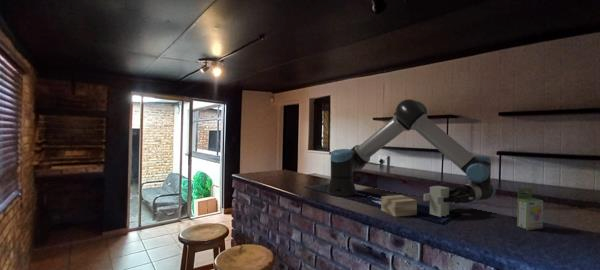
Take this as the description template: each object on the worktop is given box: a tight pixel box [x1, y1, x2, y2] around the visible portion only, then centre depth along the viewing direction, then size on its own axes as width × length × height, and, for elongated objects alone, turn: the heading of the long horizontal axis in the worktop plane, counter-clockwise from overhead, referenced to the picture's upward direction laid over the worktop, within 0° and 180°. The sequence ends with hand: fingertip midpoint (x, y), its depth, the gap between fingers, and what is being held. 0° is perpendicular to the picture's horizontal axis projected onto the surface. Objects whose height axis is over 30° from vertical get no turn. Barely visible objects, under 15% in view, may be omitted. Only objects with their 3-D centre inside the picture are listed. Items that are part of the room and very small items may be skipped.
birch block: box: [380, 194, 418, 218], centre depth 119 cm, size 10×10×6 cm
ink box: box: [516, 187, 544, 231], centre depth 100 cm, size 7×4×13 cm, turn 105°
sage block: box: [429, 185, 450, 218], centre depth 116 cm, size 5×5×11 cm
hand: (430, 199), depth 114 cm, fingers closed on sage block, 5 cm apart
